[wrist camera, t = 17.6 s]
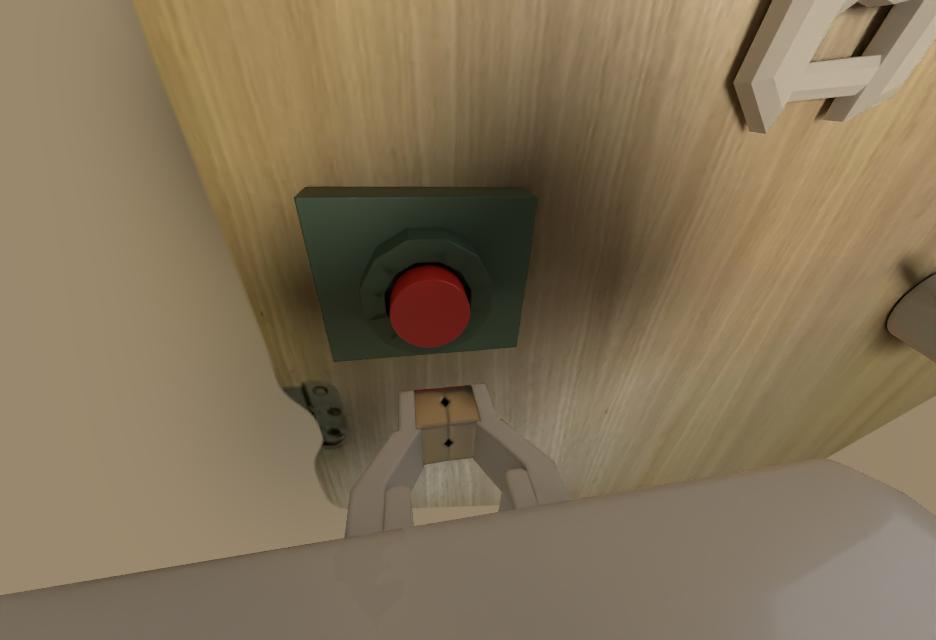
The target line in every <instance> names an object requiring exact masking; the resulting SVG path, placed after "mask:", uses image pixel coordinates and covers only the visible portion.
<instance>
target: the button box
mask: <svg viewBox="0 0 936 640" xmlns="http://www.w3.org/2000/svg"><path fill="white" fill-rule="evenodd" d="M294 200H295V204H296V208H297V212H298V216H299V221H300V225H301V229H302V233H303V237H304V241H305V245H306V249H307V254H308V258H309V262H310V266H311V270H312V274H313V278H314V282H315V287H316V291H317V295H318V299H319V303H320V307H321V311H322V315H323V320H324V324H325V328H326V332H327V336H328V340H329V344H330V348H331V353H332V357H333V361H334V362H337V361H350V360H362V359H375V358H387V357H400V356H412V355H425V354H437V353H450V352H462V351H475V350H487V349H500V348H512V347H517V340H518V333H519V326H520V319H521V312H522V305H523V298H524V291H525V285H526V278H527V271H528V264H529V257H530V250H531V243H532V236H533V229H534V222H535V216H536V209H537V202H538V196H537V195H535V194H534V193H532V192H531V191H530V190H528V189H527V188H525V187H305V188H304V189H303V190H302V191H301V192H299V193H298V194H297V195H296V196H295V197H294ZM424 265H434V266H439V267H443V268H445V269H447V270H449V271H451V272H452V273H453V274H455V275H456V276H457V277H458V278H459V280H460V281H461V283H462V285H463V287H464V290H465V293H466V296H467V299H468V302H469V305H470V318H469V322H468V324H467V326H466V328H465V329H464V331H463V332H462V333H461V334H460V335H459V336H458V337H457V338H456V339H454V340H453V341H451V342H449V343H447V344H445V345H442V346H438V347H419V346H415V345H412V344H410V343H408V342H406V341H404V340H403V339H402V338H400V337H399V336H398V335H397V333H396V332H395V331H394V329H393V327H392V324H391V321H390V297H391V291H392V288H393V286H394V284H395V282H396V281H397V280H398V278H399V277H400V276H401V275H403V274H404V273H405V272H407V271H408V270H410V269H412V268H415V267H418V266H424Z"/></svg>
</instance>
